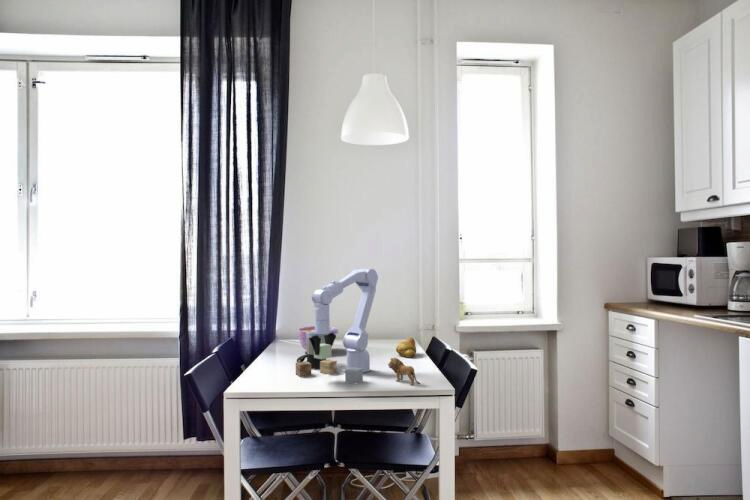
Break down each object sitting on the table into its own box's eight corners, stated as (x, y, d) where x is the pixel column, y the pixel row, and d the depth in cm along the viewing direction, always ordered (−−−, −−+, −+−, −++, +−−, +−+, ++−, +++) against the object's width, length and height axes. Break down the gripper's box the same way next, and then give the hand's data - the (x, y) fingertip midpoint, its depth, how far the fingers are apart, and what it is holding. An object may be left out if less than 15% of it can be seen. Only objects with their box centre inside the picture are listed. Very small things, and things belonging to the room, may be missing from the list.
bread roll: (418, 358, 246) (418, 341, 246) (397, 358, 246) (397, 341, 246) (414, 353, 259) (414, 336, 259) (395, 353, 259) (395, 337, 259)
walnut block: (307, 373, 219) (306, 361, 219) (311, 375, 215) (311, 363, 215) (295, 374, 217) (295, 362, 217) (299, 377, 212) (299, 365, 212)
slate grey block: (351, 379, 208) (351, 367, 208) (362, 381, 206) (362, 368, 205) (345, 382, 203) (345, 369, 203) (356, 384, 201) (356, 371, 201)
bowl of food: (292, 350, 269) (292, 327, 269) (329, 346, 277) (329, 325, 277) (304, 357, 251) (304, 333, 251) (342, 353, 259) (342, 330, 259)
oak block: (328, 370, 223) (328, 359, 223) (336, 372, 220) (336, 360, 220) (320, 373, 219) (320, 361, 219) (328, 374, 216) (328, 362, 216)
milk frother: (323, 369, 225) (322, 335, 225) (288, 368, 228) (288, 334, 228) (332, 362, 239) (332, 330, 239) (300, 361, 242) (299, 329, 242)
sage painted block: (323, 355, 211) (323, 343, 211) (331, 357, 208) (331, 345, 208) (313, 357, 208) (313, 345, 208) (321, 359, 204) (321, 346, 204)
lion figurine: (386, 380, 205) (385, 358, 205) (394, 378, 210) (394, 355, 210) (416, 386, 196) (416, 363, 196) (424, 384, 200) (424, 360, 200)
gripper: (330, 316, 216) (330, 349, 216) (301, 320, 206) (301, 354, 206) (341, 318, 210) (341, 352, 210) (312, 322, 200) (312, 357, 201)
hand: (322, 353), depth 208 cm, fingers closed on sage painted block, 5 cm apart
